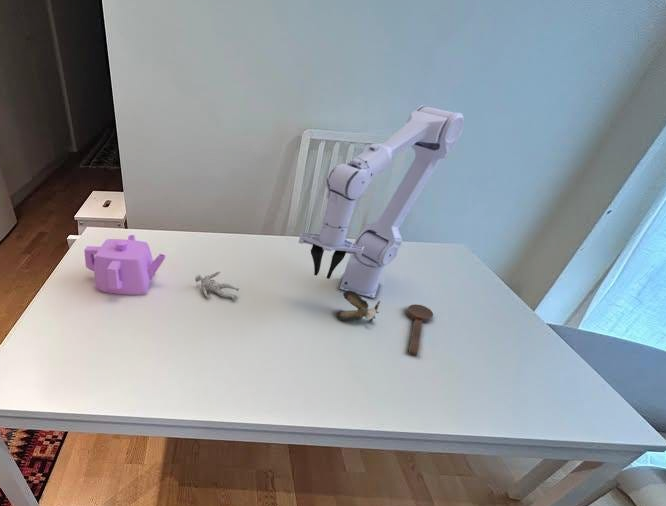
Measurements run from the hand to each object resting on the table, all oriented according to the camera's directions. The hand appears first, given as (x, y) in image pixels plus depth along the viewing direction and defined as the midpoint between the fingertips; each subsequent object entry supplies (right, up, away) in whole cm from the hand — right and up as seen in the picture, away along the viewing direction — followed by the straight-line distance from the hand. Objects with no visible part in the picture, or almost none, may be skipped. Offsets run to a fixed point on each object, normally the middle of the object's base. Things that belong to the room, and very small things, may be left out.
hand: (322, 275), depth 96 cm
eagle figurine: (+9, -11, +3) cm, 14 cm away
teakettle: (-51, 0, +13) cm, 52 cm away
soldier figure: (-26, -3, +10) cm, 28 cm away
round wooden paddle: (+23, -14, 0) cm, 27 cm away
